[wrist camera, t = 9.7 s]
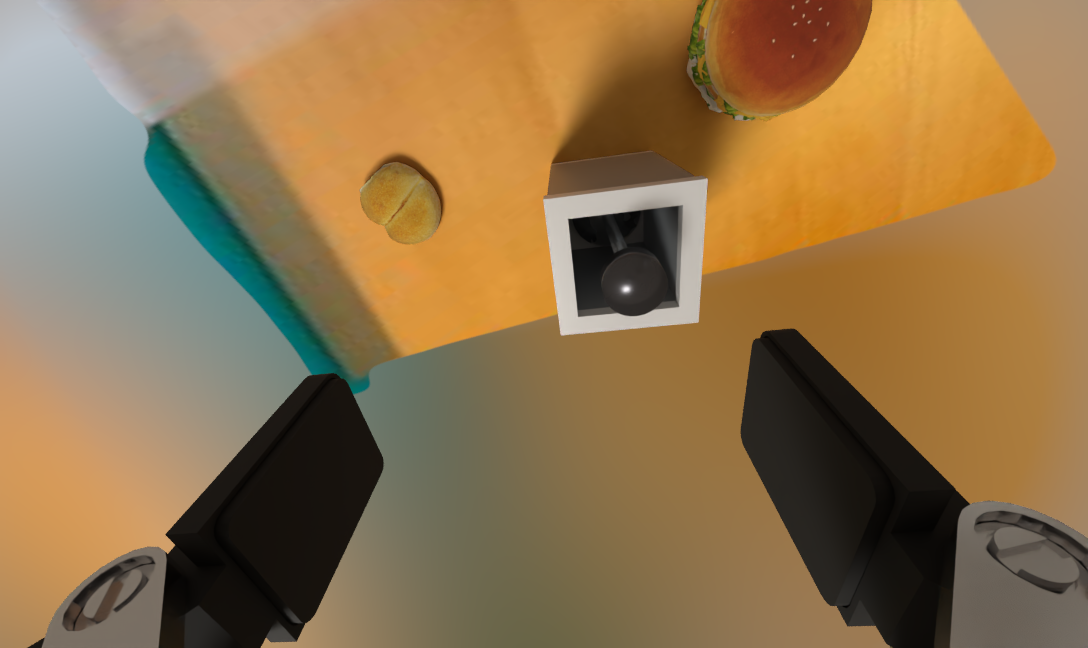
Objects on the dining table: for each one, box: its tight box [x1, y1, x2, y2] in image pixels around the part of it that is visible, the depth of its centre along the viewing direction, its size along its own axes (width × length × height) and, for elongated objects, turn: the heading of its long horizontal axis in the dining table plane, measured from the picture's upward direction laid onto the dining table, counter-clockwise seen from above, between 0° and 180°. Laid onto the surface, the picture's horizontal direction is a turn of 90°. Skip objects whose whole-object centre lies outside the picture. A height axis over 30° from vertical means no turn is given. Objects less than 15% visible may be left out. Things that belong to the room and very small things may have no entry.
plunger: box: [572, 210, 668, 316], centre depth 36 cm, size 8×8×21 cm
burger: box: [687, 0, 872, 121], centre depth 34 cm, size 14×14×10 cm
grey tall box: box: [543, 150, 708, 335], centre depth 39 cm, size 11×11×18 cm
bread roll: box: [360, 162, 441, 245], centre depth 46 cm, size 8×9×4 cm
